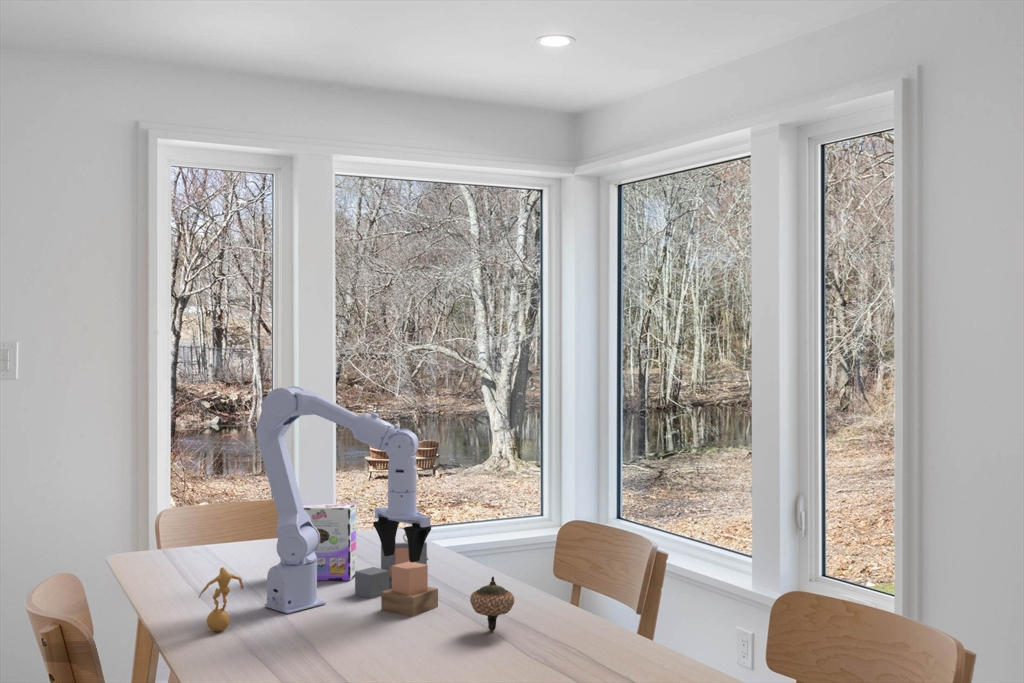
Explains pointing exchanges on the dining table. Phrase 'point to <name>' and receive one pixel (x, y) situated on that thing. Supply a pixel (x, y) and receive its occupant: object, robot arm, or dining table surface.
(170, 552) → the dining table surface
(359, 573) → the charcoal cube
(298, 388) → the robot arm
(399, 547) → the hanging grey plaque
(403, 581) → the terracotta cube
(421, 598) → the walnut base block
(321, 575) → the candy box
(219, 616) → the figurine
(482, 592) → the acorn
